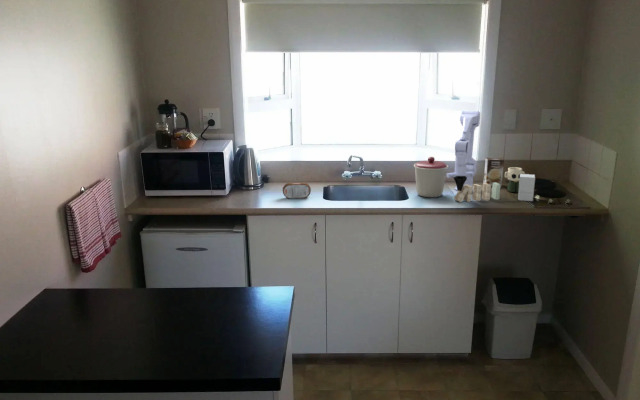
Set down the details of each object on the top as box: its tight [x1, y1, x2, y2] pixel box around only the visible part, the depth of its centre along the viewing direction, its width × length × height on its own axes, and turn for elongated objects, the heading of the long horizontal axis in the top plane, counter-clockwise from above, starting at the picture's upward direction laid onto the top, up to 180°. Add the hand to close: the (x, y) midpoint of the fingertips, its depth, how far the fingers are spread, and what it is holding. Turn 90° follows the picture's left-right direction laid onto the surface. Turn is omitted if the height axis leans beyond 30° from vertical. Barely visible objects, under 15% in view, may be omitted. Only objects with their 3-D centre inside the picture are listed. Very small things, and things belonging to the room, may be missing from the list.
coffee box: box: [482, 157, 505, 188], centre depth 295 cm, size 9×6×16 cm
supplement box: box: [517, 173, 536, 202], centre depth 268 cm, size 7×7×13 cm
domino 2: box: [462, 185, 473, 203], centre depth 267 cm, size 4×2×8 cm, turn 15°
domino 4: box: [481, 183, 492, 201], centre depth 270 cm, size 4×2×8 cm, turn 14°
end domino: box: [490, 182, 501, 200], centre depth 271 cm, size 4×2×8 cm, turn 10°
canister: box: [413, 156, 449, 198], centre depth 277 cm, size 18×18×21 cm
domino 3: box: [471, 183, 482, 202], centre depth 269 cm, size 4×2×8 cm, turn 15°
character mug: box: [504, 166, 526, 193], centre depth 283 cm, size 11×7×13 cm, turn 93°
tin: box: [282, 182, 312, 199], centre depth 276 cm, size 15×3×8 cm, turn 94°
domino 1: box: [453, 186, 468, 203], centre depth 266 cm, size 4×2×8 cm, turn 14°
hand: (459, 190), depth 266 cm, fingers closed
